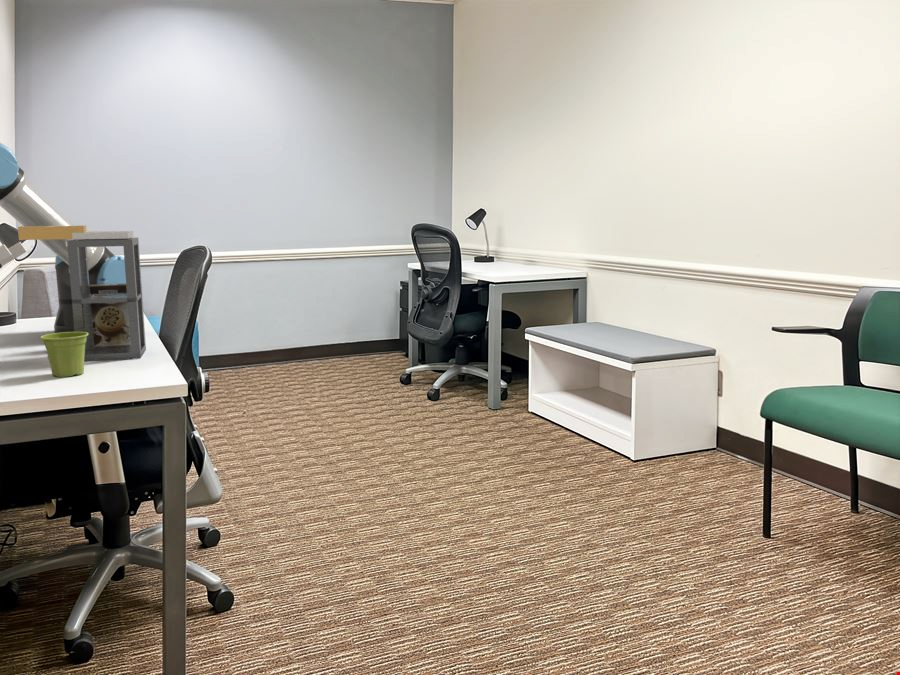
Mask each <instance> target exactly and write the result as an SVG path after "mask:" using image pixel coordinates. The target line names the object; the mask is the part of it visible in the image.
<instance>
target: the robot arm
mask: <svg viewBox="0 0 900 675" xmlns="http://www.w3.org/2000/svg"><path fill="white" fill-rule="evenodd" d="M0 207H1V208H2V209H3V210H4V211H6V212H7V214H9V215H10V216H11V217H13V218H14V220H16V221H17V222H18V223H19V224H20V225H22V226H75V225H74V224H73V223H71V222H70V220H68V219H67V218H66V217H65V216H64V215H63V214H62V213H61V212H60V211H59V210H57V208H55V207H54V206H53V205H52V204H50V202H49V201H47V200H46V199H45V198H44V197H43V196H42V195H41V194H40V193H39V192H37V190H36V189H34V188H33V187H32V186H31V185H30V183H28V182H27V181H26V173H25V171H24V170H23V169H22V168H21V167H20V166H19V165H18V159H17V157H16V156H15V154H14V152H13V151H12V150H11V149H10V148H9V147H8V146H6V145H5V144H4V143H1V142H0ZM68 240H73V239H49V240H39V241H40V242H41V243H42V244H43V245H44V246H46V247H47V248H48V249H49V250H50V251H52V252H53V253H54V254H55V255H56V256H55V259H54V260H55V262H54V263H55V265H54V269H55V275H56V286H57V298H58V310H57V312H56V313H57V314H56V317H55V320H54V325H53V330H54V333H62V332H74V320H73V307H72V295H71V283H70V271H69V259H68V247H66V241H68ZM27 252H28V250H27V249H26V247H25V246H24V245H23V244H22V242H21V241H19V242H17V243H15V244H13V245H11V246H10V247H7V246H6V245H5V244H2V245H0V269H2V268H3V267H4V266H5V265H6V264H9V263H11V261H13V260H15V259H17V258H18V257H20V256H22V255H23V254H25V253H27ZM87 260H88V273H89V285H93V284H126V274H125V260H124V256H120V255H115V254H114V253H113V252H111V250H109V249H108V248H107V246H106V247H87Z"/></svg>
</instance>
